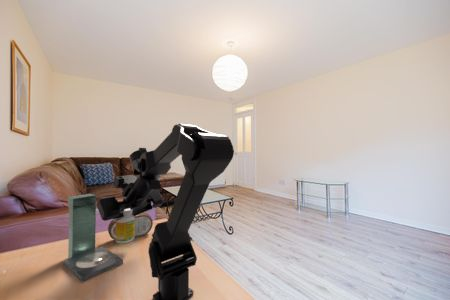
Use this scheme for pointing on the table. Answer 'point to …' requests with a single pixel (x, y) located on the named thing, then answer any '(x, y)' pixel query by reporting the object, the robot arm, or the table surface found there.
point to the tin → (141, 226)
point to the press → (86, 240)
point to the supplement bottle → (125, 227)
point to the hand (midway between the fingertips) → (123, 218)
